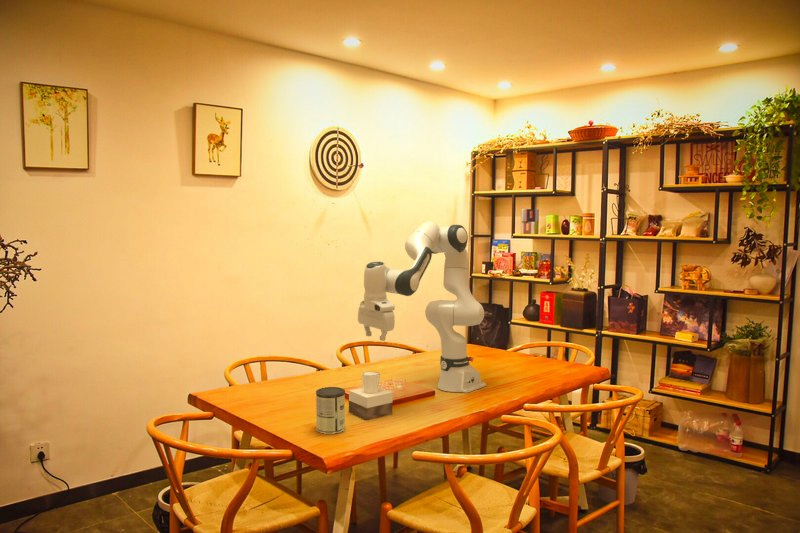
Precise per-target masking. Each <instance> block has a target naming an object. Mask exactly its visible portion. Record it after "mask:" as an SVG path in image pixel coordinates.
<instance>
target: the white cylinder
mask: <svg viewBox="0 0 800 533" xmlns="http://www.w3.org/2000/svg"><path fill="white" fill-rule="evenodd" d="M380 377H381V373H380V372H377V371H365V372H362V373H361V378H362V388H363V390H364V392H365V393H377V392H378V388H379V387H380V386H379V385H380Z"/></svg>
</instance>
